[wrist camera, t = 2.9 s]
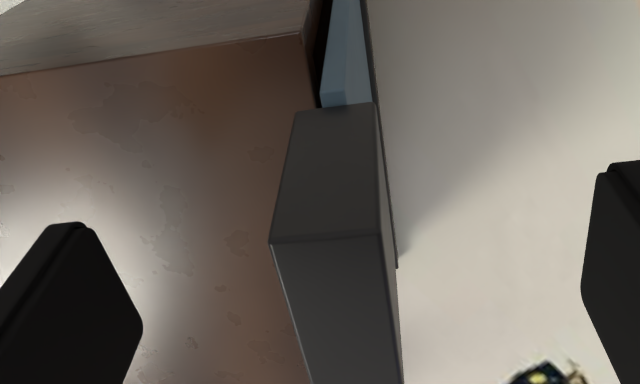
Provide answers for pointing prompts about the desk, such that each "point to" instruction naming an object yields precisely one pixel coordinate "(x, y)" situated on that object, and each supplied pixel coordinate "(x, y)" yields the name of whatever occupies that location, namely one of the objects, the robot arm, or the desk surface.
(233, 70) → the cabinet
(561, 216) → the desk surface
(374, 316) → the sliding door
